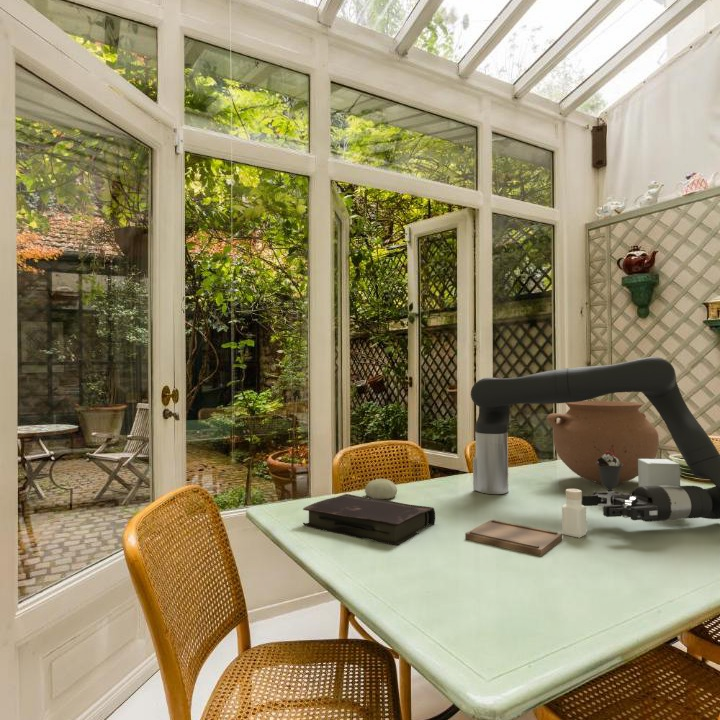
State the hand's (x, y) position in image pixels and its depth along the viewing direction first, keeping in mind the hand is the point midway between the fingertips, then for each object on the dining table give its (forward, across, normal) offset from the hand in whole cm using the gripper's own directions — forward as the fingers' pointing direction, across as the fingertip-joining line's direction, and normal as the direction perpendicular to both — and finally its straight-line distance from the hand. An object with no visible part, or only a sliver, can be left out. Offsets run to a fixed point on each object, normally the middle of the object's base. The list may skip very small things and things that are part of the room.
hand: (592, 505), depth 110 cm
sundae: (-20, -24, +6) cm, 32 cm away
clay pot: (-32, -44, +6) cm, 55 cm away
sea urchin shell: (+40, -39, +6) cm, 56 cm away
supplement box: (-26, -13, +6) cm, 30 cm away
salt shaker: (+4, 0, +6) cm, 8 cm away
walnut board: (+18, +1, +6) cm, 19 cm away
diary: (+47, -14, +7) cm, 49 cm away
